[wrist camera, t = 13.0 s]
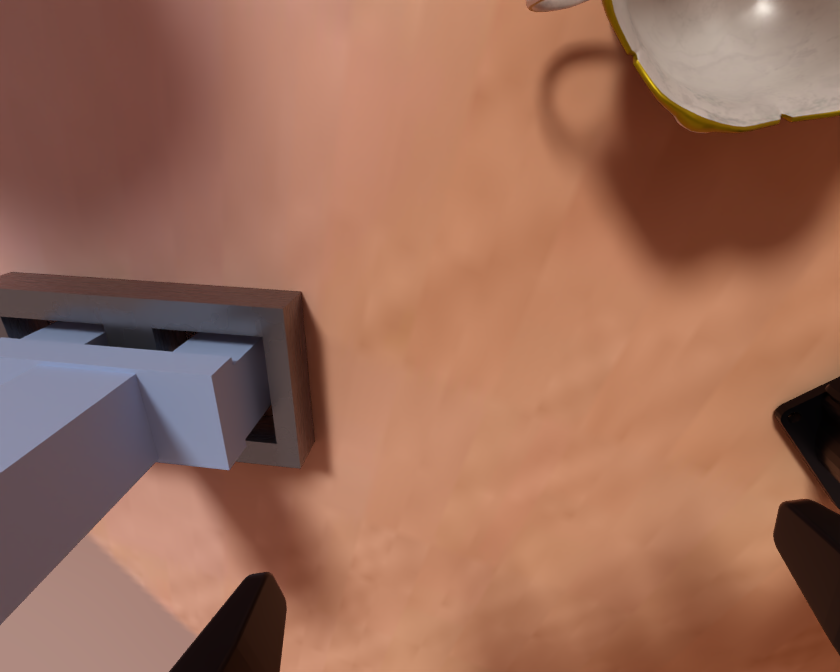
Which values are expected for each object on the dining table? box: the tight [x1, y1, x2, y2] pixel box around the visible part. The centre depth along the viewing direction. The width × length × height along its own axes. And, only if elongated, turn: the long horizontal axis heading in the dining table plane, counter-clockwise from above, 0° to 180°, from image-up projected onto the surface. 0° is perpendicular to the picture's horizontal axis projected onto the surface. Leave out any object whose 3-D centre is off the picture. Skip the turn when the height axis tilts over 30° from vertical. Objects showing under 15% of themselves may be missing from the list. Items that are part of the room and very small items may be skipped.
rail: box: [0, 272, 315, 469], centre depth 21 cm, size 14×8×2 cm, turn 88°
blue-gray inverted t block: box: [0, 321, 271, 625], centre depth 16 cm, size 10×4×14 cm, turn 88°
